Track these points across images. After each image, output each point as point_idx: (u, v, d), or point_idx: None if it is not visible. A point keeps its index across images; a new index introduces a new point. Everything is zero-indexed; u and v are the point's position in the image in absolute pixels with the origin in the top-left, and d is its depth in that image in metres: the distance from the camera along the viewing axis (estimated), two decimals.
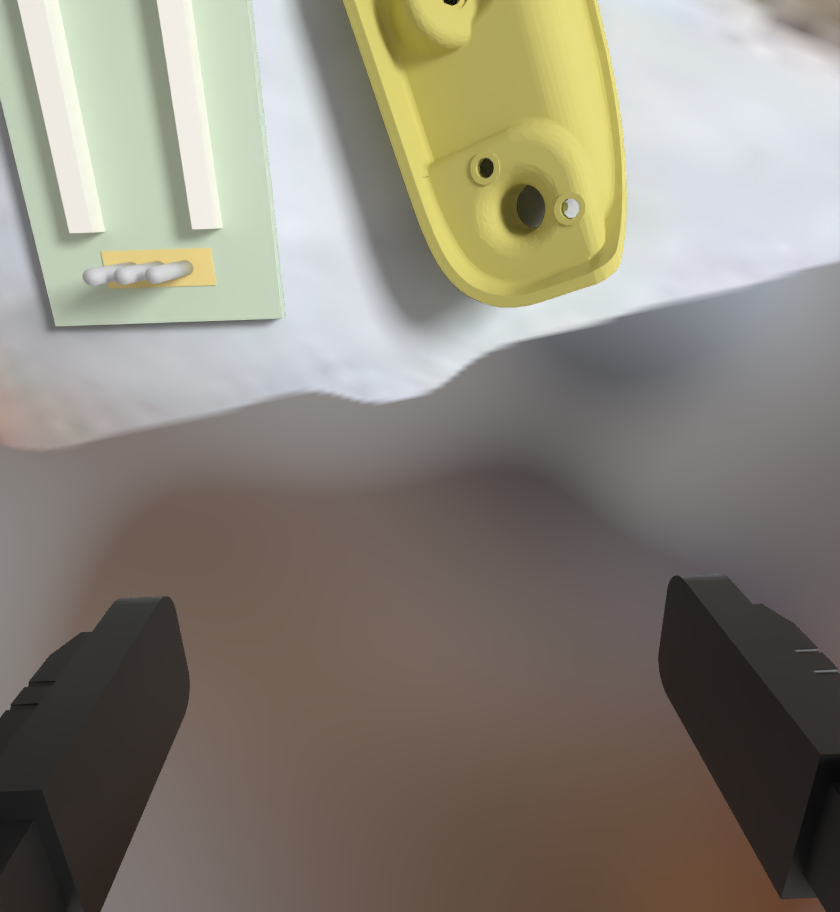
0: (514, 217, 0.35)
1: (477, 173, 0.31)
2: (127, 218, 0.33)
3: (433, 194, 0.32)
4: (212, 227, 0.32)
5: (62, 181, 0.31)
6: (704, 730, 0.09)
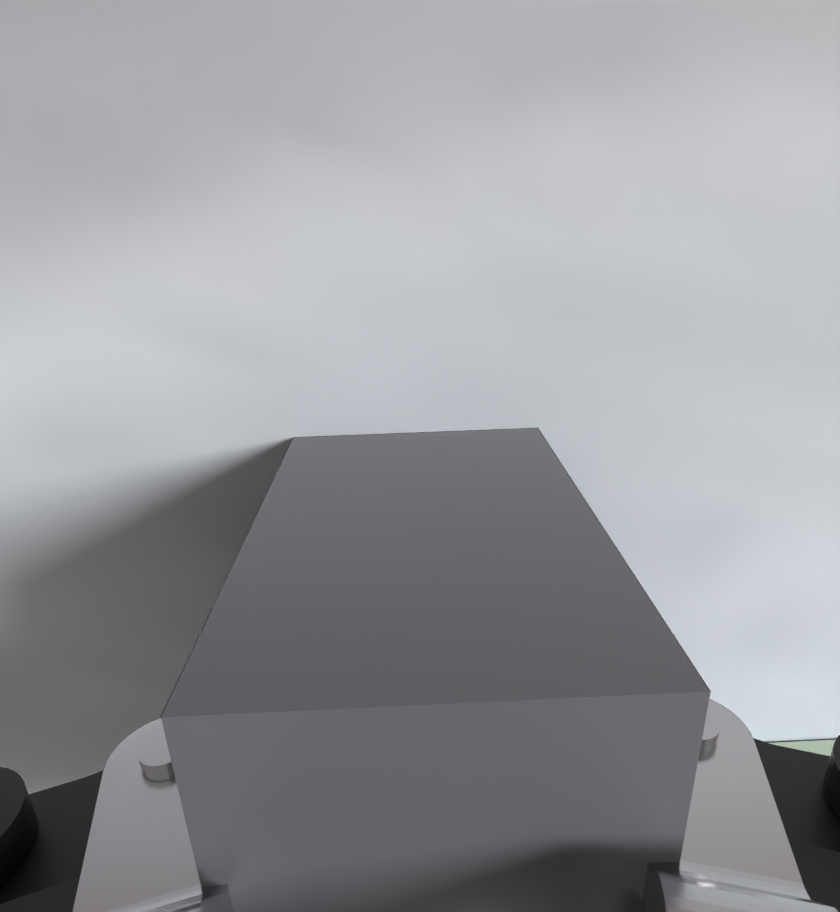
0: None
1: None
2: None
3: None
4: None
5: None
6: None
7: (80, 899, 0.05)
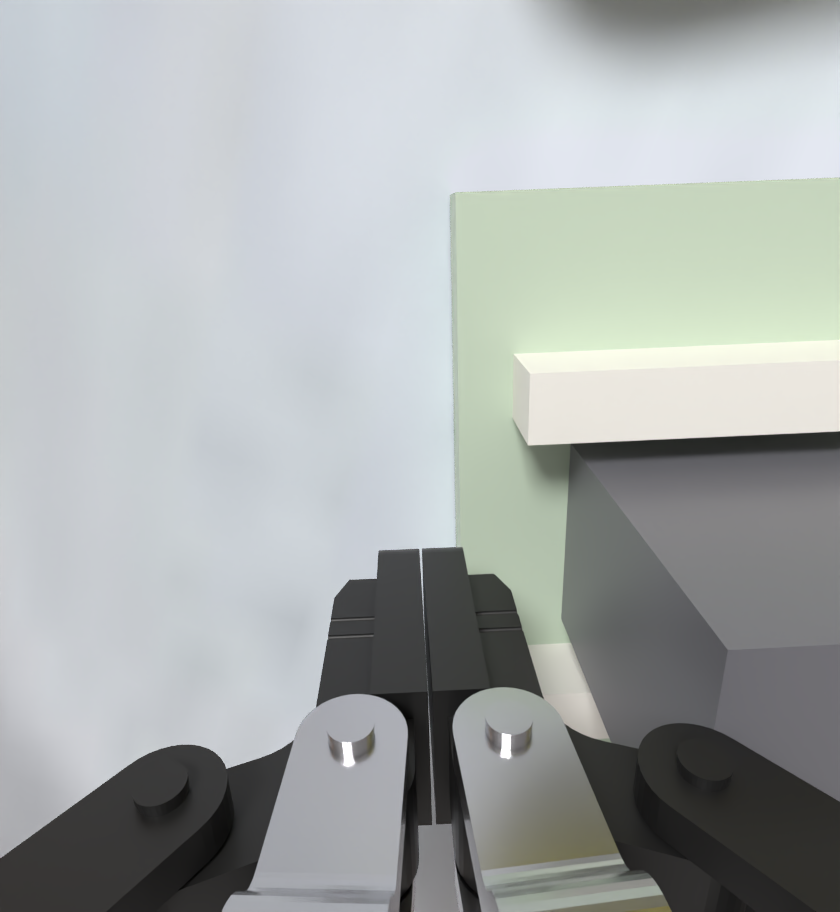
0: None
1: None
2: None
3: None
4: None
5: None
6: None
7: (265, 852, 0.05)
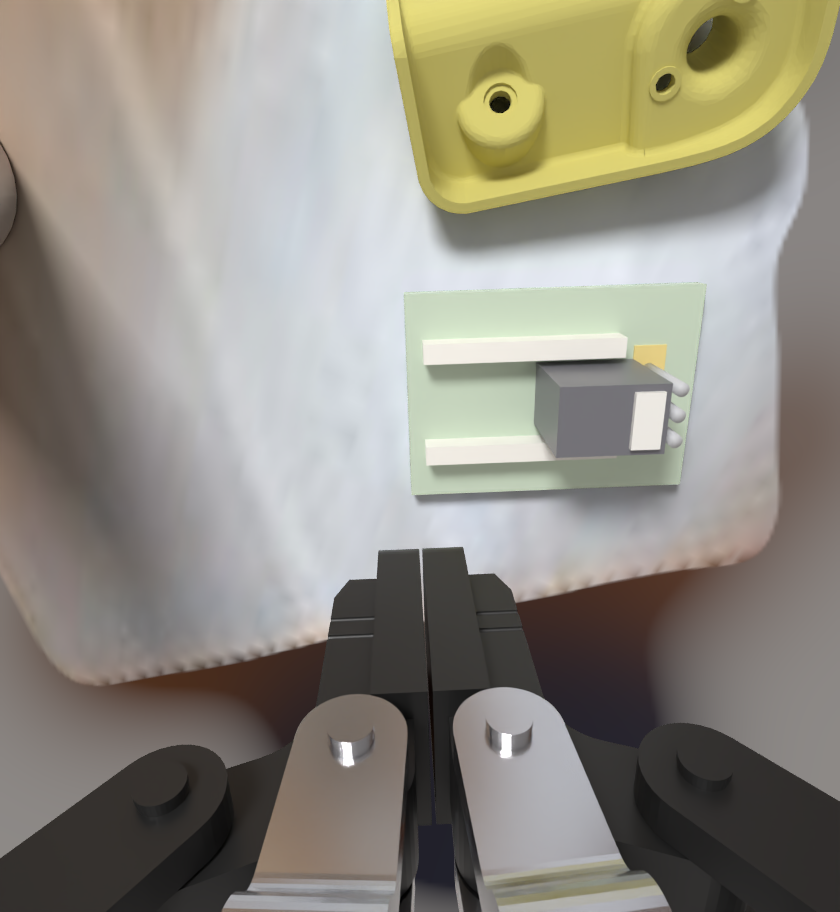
0: (695, 57, 0.33)
1: (666, 93, 0.31)
2: None
3: (662, 146, 0.33)
4: (626, 339, 0.36)
5: None
6: (428, 686, 0.10)
7: (265, 854, 0.05)
